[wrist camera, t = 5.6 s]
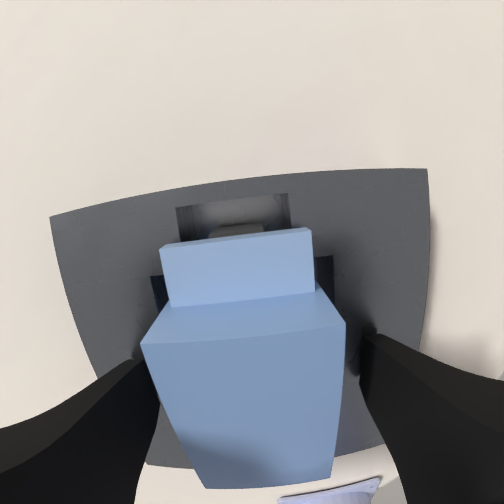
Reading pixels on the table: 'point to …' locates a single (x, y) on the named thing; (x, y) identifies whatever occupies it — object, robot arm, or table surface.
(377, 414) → the robot arm
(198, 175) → the table surface
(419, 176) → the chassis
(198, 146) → the table surface
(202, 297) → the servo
